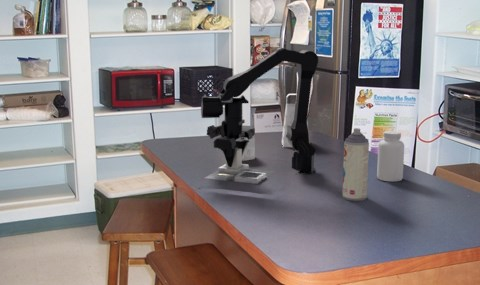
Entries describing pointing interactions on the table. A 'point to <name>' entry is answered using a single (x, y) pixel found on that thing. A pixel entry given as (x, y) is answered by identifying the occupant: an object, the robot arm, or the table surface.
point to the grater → (288, 121)
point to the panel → (240, 174)
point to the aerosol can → (355, 167)
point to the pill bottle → (390, 157)
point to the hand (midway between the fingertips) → (233, 164)
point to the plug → (236, 160)
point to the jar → (249, 145)
